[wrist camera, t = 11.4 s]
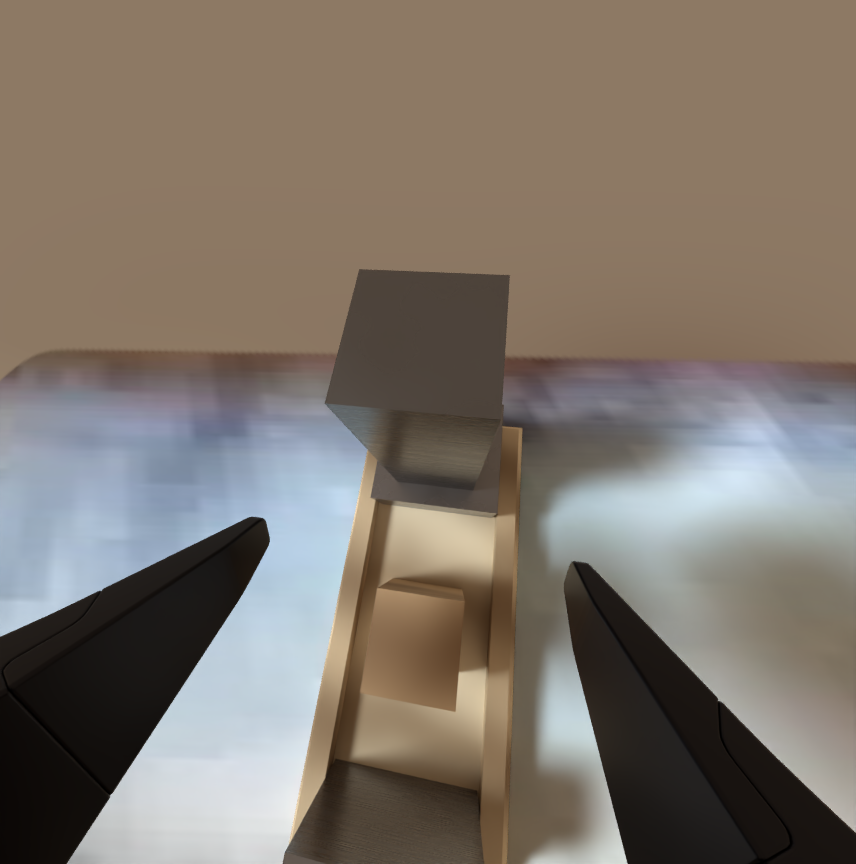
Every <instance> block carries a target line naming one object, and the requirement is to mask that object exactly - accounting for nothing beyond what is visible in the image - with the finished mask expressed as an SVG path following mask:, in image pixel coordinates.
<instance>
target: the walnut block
mask: <svg viewBox="0 0 856 864" xmlns="http://www.w3.org/2000/svg"><path fill="white" fill-rule="evenodd" d="M464 603H465V601H464V596H463V591H462V589H459V588H453V587H446V586H440V585H433V584H427V583H420V582H414V581H407V580H401V579H395V578H393V579H391V580H389V581H388V582H386V583H385V584H383V585H381V586H380V587H378V588H377V593H376V599H375V605H374V611H373V617H372V623H371V629H370V635H369V641H368V647H367V653H366V659H365V666H364V672H363V678H362V684H361V690H360V693H363V694H368V695H373V696H377V697H382V698H387V699H392V700H397V701H402V702H407V703H412V704H417V705H422V706H427V707H432V708H437V709H442V710H447V711H452V712H456V700H457V688H458V676H459V664H460V652H461V640H462V627H463V615H464Z"/></svg>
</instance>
